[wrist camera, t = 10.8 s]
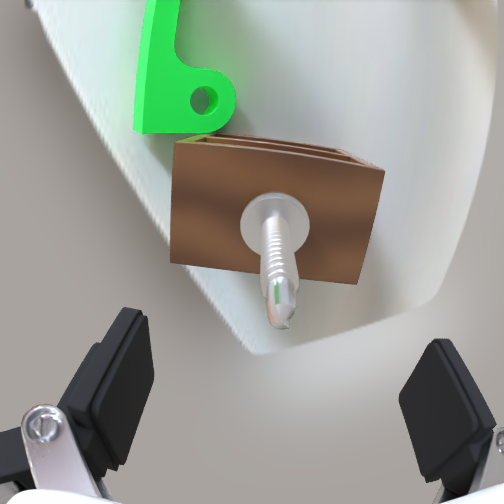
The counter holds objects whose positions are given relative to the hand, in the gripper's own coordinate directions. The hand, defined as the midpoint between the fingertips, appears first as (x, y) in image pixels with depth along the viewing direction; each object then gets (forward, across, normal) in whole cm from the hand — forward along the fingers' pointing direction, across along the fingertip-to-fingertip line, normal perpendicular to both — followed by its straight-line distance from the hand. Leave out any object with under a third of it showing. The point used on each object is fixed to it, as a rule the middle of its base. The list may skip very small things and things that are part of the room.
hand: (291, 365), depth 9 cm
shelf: (+30, 0, +1) cm, 30 cm away
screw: (+16, 0, +1) cm, 16 cm away
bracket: (+30, +11, -14) cm, 35 cm away
